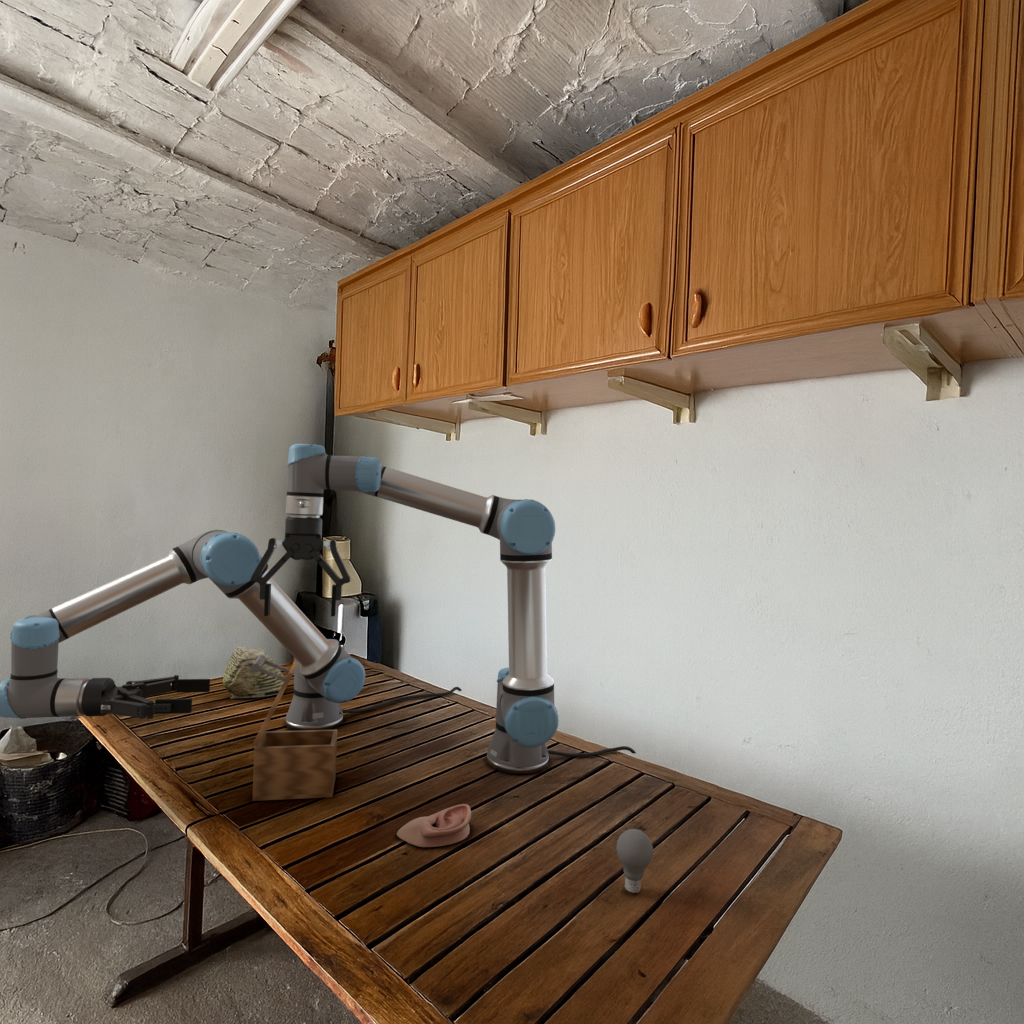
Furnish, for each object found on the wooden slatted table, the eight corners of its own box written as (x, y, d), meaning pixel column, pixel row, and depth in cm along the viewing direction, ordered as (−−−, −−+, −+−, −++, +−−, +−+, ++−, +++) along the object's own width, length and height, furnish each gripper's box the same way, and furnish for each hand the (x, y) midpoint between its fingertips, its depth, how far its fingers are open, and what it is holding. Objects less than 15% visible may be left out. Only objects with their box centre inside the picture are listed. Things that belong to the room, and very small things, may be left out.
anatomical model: (391, 821, 117) (413, 793, 128) (390, 842, 117) (412, 813, 128) (460, 832, 114) (476, 802, 125) (459, 853, 114) (475, 822, 126)
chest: (335, 777, 143) (337, 729, 143) (332, 797, 134) (334, 745, 134) (261, 780, 140) (263, 731, 140) (252, 801, 131) (254, 748, 130)
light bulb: (610, 879, 108) (613, 822, 108) (644, 879, 109) (647, 822, 109) (619, 902, 102) (622, 840, 102) (655, 901, 103) (658, 840, 103)
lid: (298, 662, 141) (263, 647, 139) (292, 674, 132) (254, 658, 130) (265, 729, 140) (229, 715, 138) (256, 746, 130) (217, 731, 129)
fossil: (218, 695, 195) (220, 647, 195) (278, 685, 208) (279, 640, 207) (228, 703, 189) (230, 653, 188) (289, 692, 201) (290, 645, 201)
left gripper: (112, 696, 140) (215, 694, 145) (56, 738, 116) (181, 734, 120) (113, 662, 140) (216, 661, 145) (57, 698, 116) (183, 695, 120)
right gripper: (238, 514, 130) (234, 618, 130) (363, 519, 135) (359, 618, 135) (246, 513, 137) (242, 611, 137) (364, 518, 142) (360, 612, 142)
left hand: (201, 695), depth 133 cm, fingers open, 13 cm apart
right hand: (300, 615), depth 136 cm, fingers open, 13 cm apart
